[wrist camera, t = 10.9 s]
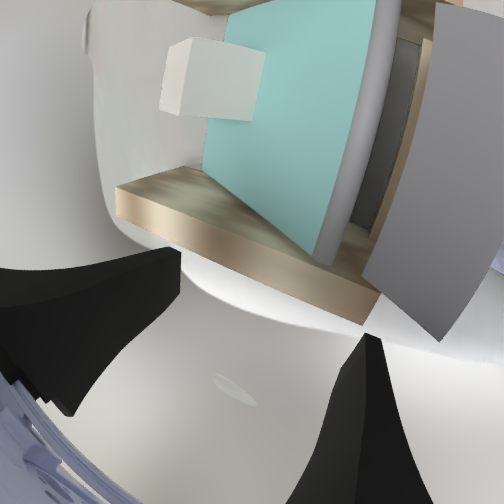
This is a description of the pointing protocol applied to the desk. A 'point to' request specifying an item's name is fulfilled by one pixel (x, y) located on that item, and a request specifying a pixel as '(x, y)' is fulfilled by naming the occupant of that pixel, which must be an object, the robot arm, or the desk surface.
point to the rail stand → (258, 228)
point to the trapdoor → (362, 139)
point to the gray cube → (211, 79)
